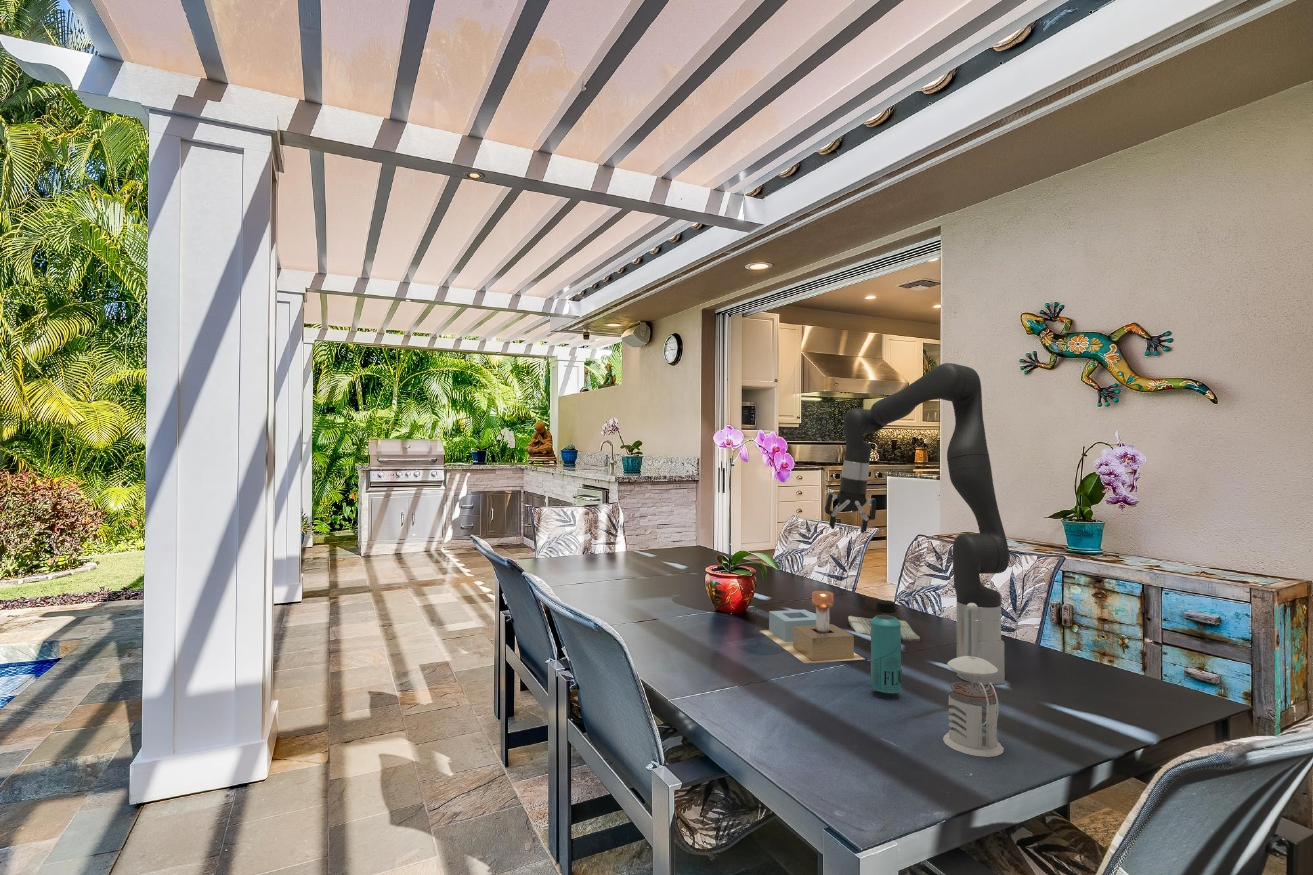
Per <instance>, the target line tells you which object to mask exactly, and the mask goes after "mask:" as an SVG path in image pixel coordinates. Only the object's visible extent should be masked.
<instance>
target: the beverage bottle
mask: <svg viewBox="0 0 1313 875" xmlns="http://www.w3.org/2000/svg"><path fill="white" fill-rule="evenodd" d="M874 608H875V611H876V612H878V613H882V614H877V615H875V616H874V617H872V618H871V619H872V620H871V621H870V623H871V636H870V662H869V665H870V670H869V673H870V685H871V686H870V687H871V688H872V689H873V690H874V691H877V692H879V693H883V694H884V693H885V694H898V693H899V692H901V690H902V687H903V686H902V684H903V683H902V678H903V669H902V665H903V664H902V645H903V641H902V640H901V636H902V635H901V623H900V621H899V620H900V619H898V618H897V617H895V616H892V615H888V614H894V613H896V612H897V611H896V610H897V608H896V602H894V601H893V600H888V599H887V600H886V599H879V600H876V601H875V607H874Z"/></svg>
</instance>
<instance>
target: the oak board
mask: <svg viewBox="0 0 1313 875" xmlns="http://www.w3.org/2000/svg"><path fill="white" fill-rule="evenodd" d="M759 634H763V635H765V637H768V638H769V639H770V640H772V641H773V642H774V643H776V644H777V645H778V646H780V647H781V648H783V649H784V650H786V652H788V653H789V654H791V655H792V656H794V657H795V658H797V659H798V660H799V661H800V662H802V663H803V664H814V663H815V664H817V663H818V664H819V663H828V662H829V663H832V662H843V661H844V662H845V661H858V660H859V661H860V660H862V661H863V660H865V658H864V657H862V656H861V655H859V654H857V653H856V652H854V658H852V659H838V660H823V661H811V660H810V659H808V658H807V657H806V656H804V655H803V654H801V653H800V652H798V651H797V650H796V649H794V648H793V642H784V641H783V640H781V639H780V638H778V637H777V636H776V635H774V634H773V633H771V632H770V631H769V629H763V630H760V629H759Z"/></svg>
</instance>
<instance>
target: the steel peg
mask: <svg viewBox="0 0 1313 875" xmlns="http://www.w3.org/2000/svg"><path fill="white" fill-rule="evenodd" d="M811 593H812V594H811V606H813V607H815V615H816V632H817V633H818V634H824V633H829V624H830V608H833V607H834V593H833V592H832V591H827V590H813V591H812V592H811Z"/></svg>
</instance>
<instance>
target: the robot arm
mask: <svg viewBox="0 0 1313 875" xmlns="http://www.w3.org/2000/svg"><path fill="white" fill-rule="evenodd" d="M982 392H983V391H982V385H981V378H980V376H979V374H978V372H977V371H976V370H975V369H974V368H972V367H969V366H967V365H961V364H959V363H958V364H957V363H950V362H944V363H941V364H939V365H937V366H935V367H934V368H932V369H931V370H929V371H927V372H926V373H925V374H924V375H922V376H921V377H919V378H918V379H916V380H915V381H914V382H912V383H910V384H909V385H907V386H906V387H904V388H902V389H901V390H898V391H897V392H896V391H895V393H892V394H890V395H888V396H886V397H883V398H882V399H879V400H877V401H875V402H874V403H873V404H872V405H871V408H870V409H866V408H864V409H863V408H851V409H849V410H848V411H847V412H846V413H845V415H844V419H843V432H844V440H845V452H844V460H843V464H842V470H841V477H840V485H839V490H838V493H837V494H835V493H831V492H828V493H827V497H826V501H825V505H824V512H825V514H827V515H829V523H828V524H829V527H830V528H831V530H835V526H836V518H837V517H836V516H837V515H838V514H839V513H840V512H842V511H843V510H844V511H848V512H849V511H852V512H858V513H860V515H861V517H862V519H861V525H860V531H859V532H860V534H864V533H865V532H866V531H867V529H868V524H869V523H868V522H869V521H870V520H876V514H877V513H876V512H877V500H876V498H874V497H872V498H867V496H866V495H867V487H868V482H869V475H870V461H871V460H870V459H871V455H872V446H871V444H870V443H869V442H866V441H865V440H864V439H863V434H866V435H867V434H874V433H877V432H879V431H881V430H882V429H883V428H885V427H887V425H888V424H892V423H893V422H896V421H898V420H902V419H904V418H905V417H907V416H909V415H910V414H911V413H912V412H913V411H914V410H915V409H916V408H917V407H918V406H919V405H921V404H922V403H925V402H929V401H935V400H940V399H941V400H943V401H948V402H951V403H952V407H953V412H954V418H955V419H954V420H955V421H954V422H955V425H954V428H953V433H952V435H951V438H950V440H949V443H948V445H947V446H948V447H947V449H946V450H947V451H946V461H947V467H948V473H949V480H950V482H951V484H952V486H953V487H954V489H955V491H956V492H957V493H958V494H959V495H960V497H961V499H963V500H964V502H965V503H966V504H967V505H968V507H969V508H970V510H971V511H972V513H973V515H974V516H975V517H974V518H975V520H976V523H977V527H978V531H979V533H978V532H977V533H962V534H961V533H960V534H958V535H957V536H956V537H955V539H954V541H953V544H952V549H951V550H952V553H951V554H952V555H951V556H952V569H953V571H952V574H953V584H954V591H955V594H956V597H955V598H956V658H958V657H962V656H972V635H971V610H967V609H966V607H967V604H968V603H975V604H976V605H977V606H978V610H977V611H973V656H974V657H978V658H982V659H984V660H986V661H988V662H989V663H991V664H992V665H994V666H995V667H996V668H997V669H998V671H997V673H995V674H994V675H991V676H973V683H974V684H975V683H976V684H979V682H981V683H982V685H983V686H988V683H989V682H990V683H991V684H992V685H1003V684H1005V681H1006V680H1005V642H1004V640H1002V597H1001V596H1002V595H1001V594H1000V592H999V591H997V590H996V589H993V588H990V587H986V586H985V585H984V584H982V583H981V577H980V575H988V574H990V575H991V574H992V575H993V574H1002V573H1004V572H1005V571H1006V570H1007V569H1008V567H1009V563H1010V550H1009V544H1008V540H1007V538H1006V537H1007V536H1006V533H1005V529H1004V527H1003V522H1002V518H1001V516H1000V511H999V508H998V502H997V498H996V492H995V486H994V478H993V472H992V465H991V464H992V463H991V460H990V453H989V449H988V444H987V443H988V442H987V438H986V429H985V424H984V423H985V422H984V414H983V413H984V412H983V397H982ZM835 500H837V501H838V503H837V505H836V506H835V507H834V508H833V509H831V506H832V502H834V501H835ZM865 504H867V505H868V506H869V514H866V512H865V509H864V508H863V506H865ZM956 676H957V677H958V678H959V679H961V680H963V681H965V682H968V683H969V682H970V683H971V682H972V675H967V674H962V673H959V672H956ZM980 685H981V684H980Z"/></svg>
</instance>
